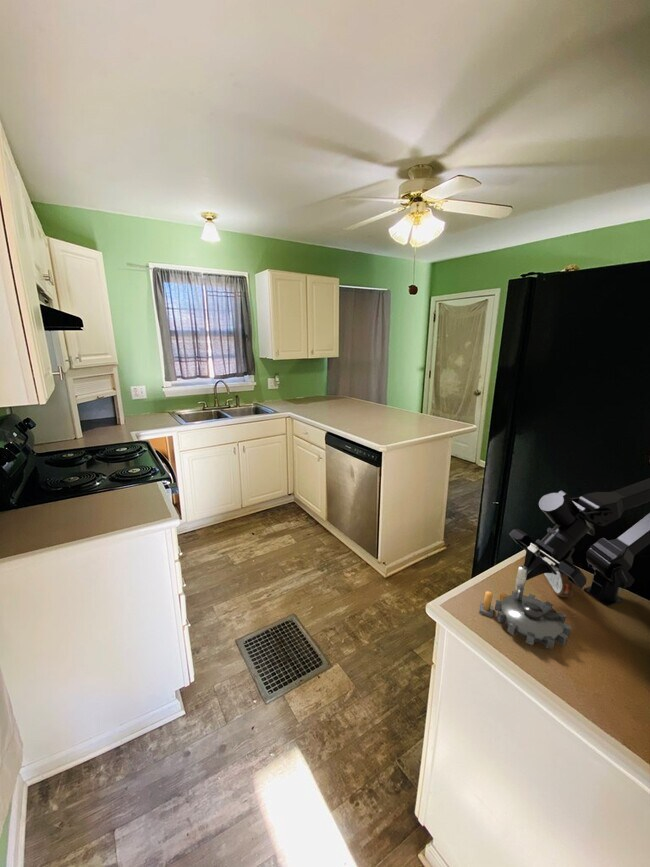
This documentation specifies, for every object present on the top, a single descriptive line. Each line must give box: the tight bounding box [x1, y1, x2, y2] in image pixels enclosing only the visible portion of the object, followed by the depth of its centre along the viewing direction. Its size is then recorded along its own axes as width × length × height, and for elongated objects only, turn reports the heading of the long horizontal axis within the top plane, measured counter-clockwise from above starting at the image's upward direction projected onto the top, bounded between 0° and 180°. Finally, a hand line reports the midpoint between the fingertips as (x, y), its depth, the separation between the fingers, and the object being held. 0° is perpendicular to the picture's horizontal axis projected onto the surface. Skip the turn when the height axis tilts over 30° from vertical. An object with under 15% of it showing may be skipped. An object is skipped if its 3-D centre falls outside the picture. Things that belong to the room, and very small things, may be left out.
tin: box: [542, 558, 575, 598], centre depth 99 cm, size 15×3×8 cm, turn 168°
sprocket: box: [494, 565, 572, 649], centre depth 83 cm, size 15×15×11 cm
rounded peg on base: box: [478, 590, 494, 618], centre depth 88 cm, size 3×3×5 cm
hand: (521, 580), depth 89 cm, fingers closed
